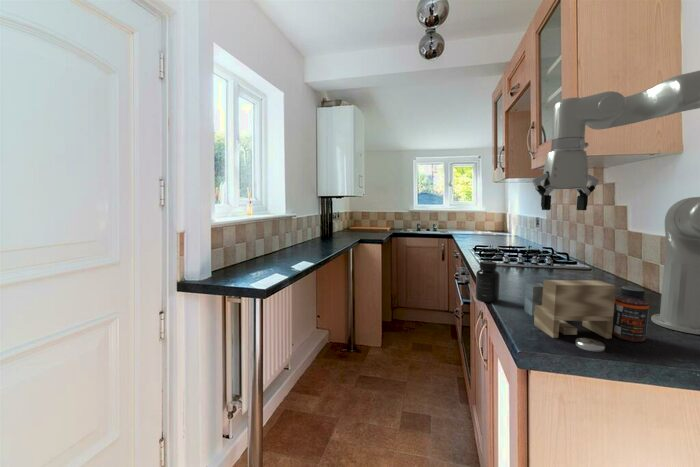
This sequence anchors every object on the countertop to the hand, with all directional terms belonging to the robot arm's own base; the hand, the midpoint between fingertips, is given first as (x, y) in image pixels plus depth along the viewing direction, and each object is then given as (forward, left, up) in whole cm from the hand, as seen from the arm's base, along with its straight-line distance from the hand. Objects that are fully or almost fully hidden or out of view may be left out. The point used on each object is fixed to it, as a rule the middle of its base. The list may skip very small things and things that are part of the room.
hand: (563, 210), depth 93 cm
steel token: (+8, +25, -29) cm, 39 cm away
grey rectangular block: (+8, +10, -28) cm, 31 cm away
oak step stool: (+6, +16, -28) cm, 33 cm away
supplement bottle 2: (-4, +19, -28) cm, 35 cm away
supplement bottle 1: (+16, -10, -28) cm, 34 cm away
